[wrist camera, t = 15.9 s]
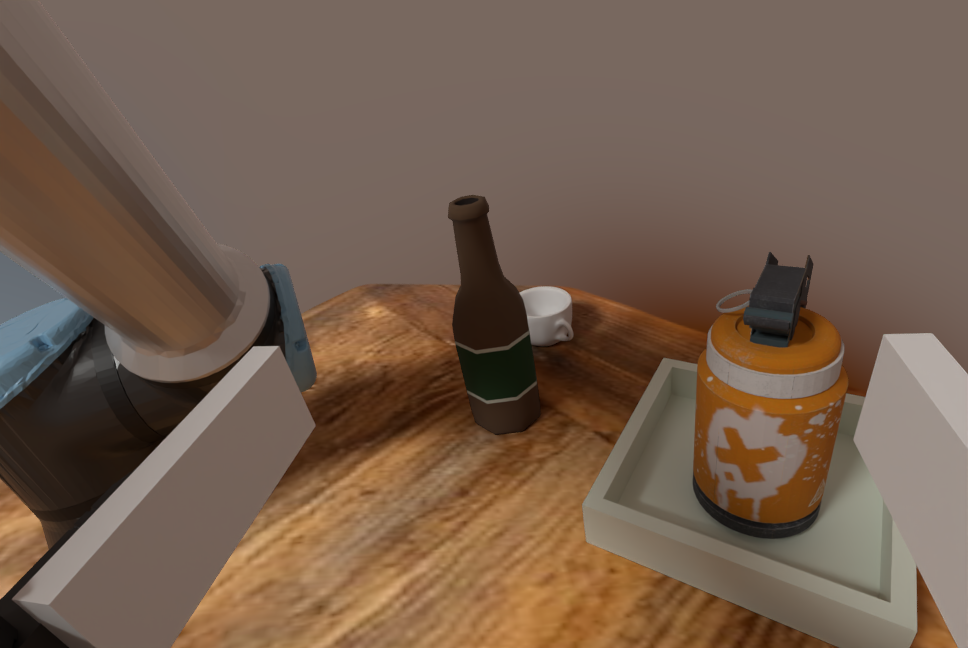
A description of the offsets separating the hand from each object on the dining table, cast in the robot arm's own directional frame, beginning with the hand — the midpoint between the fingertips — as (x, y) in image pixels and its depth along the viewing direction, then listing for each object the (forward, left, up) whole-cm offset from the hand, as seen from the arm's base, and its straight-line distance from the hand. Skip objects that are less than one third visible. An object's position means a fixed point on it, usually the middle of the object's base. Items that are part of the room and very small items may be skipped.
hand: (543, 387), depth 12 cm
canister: (+2, +25, -29) cm, 39 cm away
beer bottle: (-22, +26, -30) cm, 46 cm away
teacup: (-24, +40, -30) cm, 56 cm away
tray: (+2, +25, -30) cm, 39 cm away
